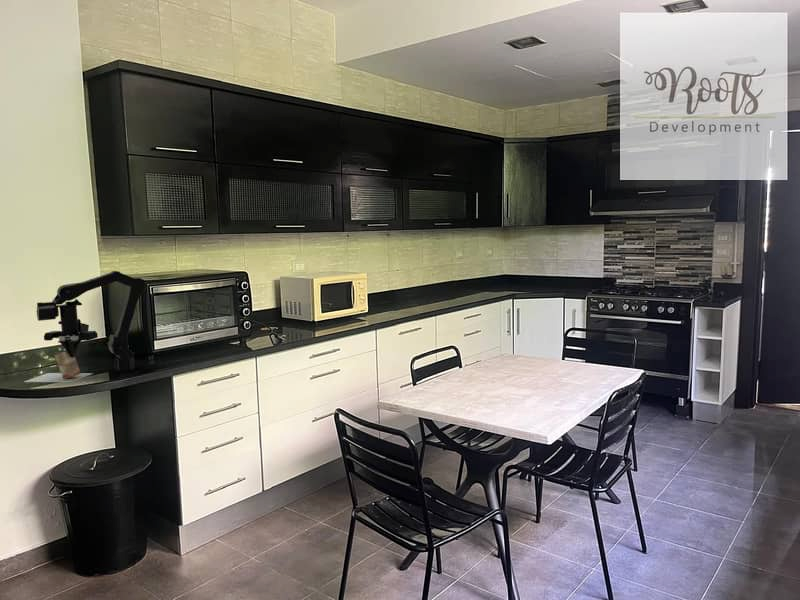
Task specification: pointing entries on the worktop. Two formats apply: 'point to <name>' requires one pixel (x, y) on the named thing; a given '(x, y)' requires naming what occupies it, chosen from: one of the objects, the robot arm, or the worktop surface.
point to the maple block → (67, 365)
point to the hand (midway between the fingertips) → (72, 357)
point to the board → (57, 378)
